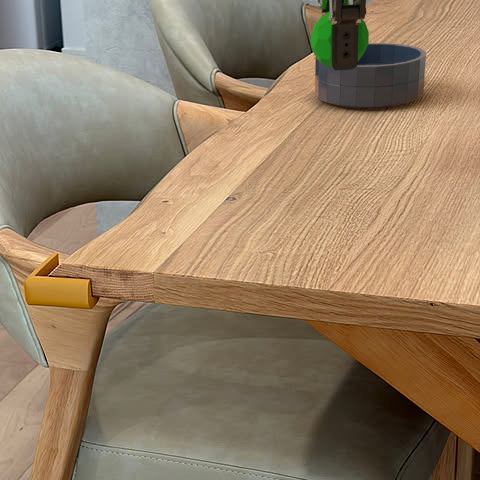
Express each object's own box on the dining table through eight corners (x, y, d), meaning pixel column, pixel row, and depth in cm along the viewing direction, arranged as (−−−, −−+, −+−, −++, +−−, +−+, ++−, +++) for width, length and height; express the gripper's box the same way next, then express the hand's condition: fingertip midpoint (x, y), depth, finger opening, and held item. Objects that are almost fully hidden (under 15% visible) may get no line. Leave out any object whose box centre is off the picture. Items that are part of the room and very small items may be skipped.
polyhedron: (321, 59, 84) (321, 6, 82) (374, 60, 82) (375, 5, 80) (303, 72, 80) (303, 16, 78) (358, 73, 78) (359, 16, 76)
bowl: (445, 94, 106) (448, 50, 104) (376, 117, 100) (378, 71, 97) (362, 79, 115) (363, 39, 113) (293, 100, 108) (293, 57, 106)
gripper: (407, -157, 67) (398, 77, 74) (371, -156, 79) (367, 43, 87) (304, -147, 67) (306, 84, 75) (285, -148, 80) (288, 49, 87)
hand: (339, 61), depth 81 cm, fingers closed on polyhedron, 5 cm apart
